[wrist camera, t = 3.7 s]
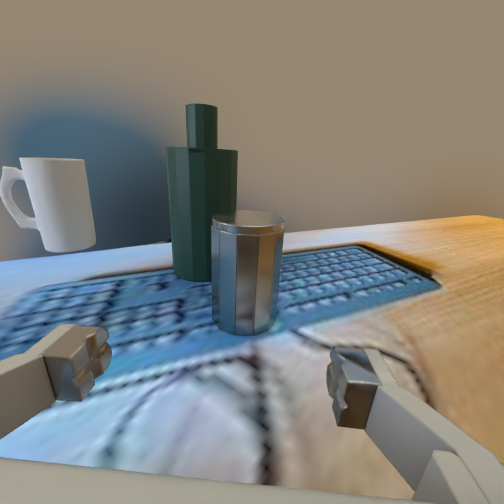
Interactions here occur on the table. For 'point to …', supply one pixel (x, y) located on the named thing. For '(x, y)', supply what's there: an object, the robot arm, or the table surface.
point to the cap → (245, 270)
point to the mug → (53, 202)
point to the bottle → (198, 192)
